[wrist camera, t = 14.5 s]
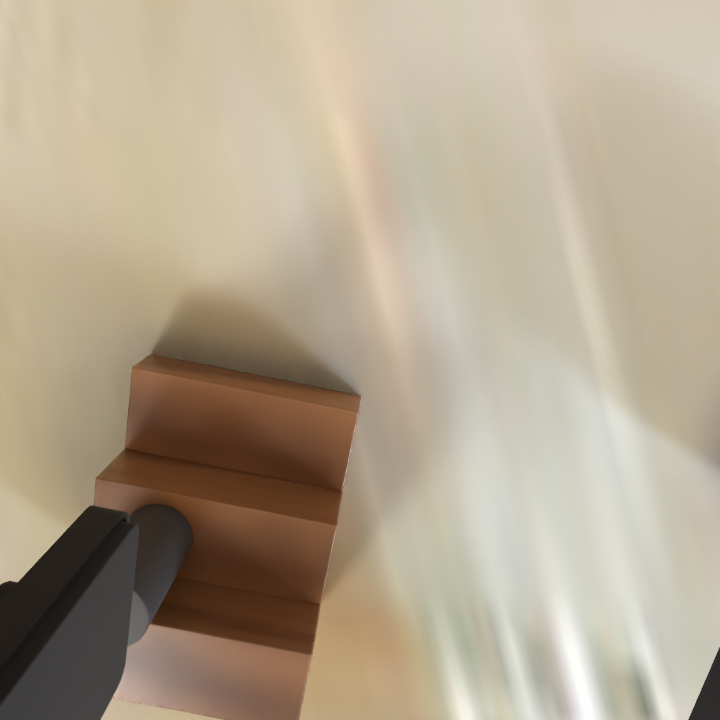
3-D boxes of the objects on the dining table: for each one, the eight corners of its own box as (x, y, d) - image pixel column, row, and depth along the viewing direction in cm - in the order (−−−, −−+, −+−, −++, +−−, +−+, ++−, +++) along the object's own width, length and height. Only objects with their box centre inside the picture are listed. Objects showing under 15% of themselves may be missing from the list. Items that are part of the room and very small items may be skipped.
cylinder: (128, 497, 36) (67, 570, 29) (197, 510, 36) (152, 587, 29) (123, 556, 37) (63, 640, 30) (189, 570, 37) (144, 656, 30)
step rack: (150, 353, 41) (65, 414, 30) (361, 395, 41) (350, 470, 30) (129, 568, 45) (49, 686, 35) (318, 605, 45) (295, 734, 35)
